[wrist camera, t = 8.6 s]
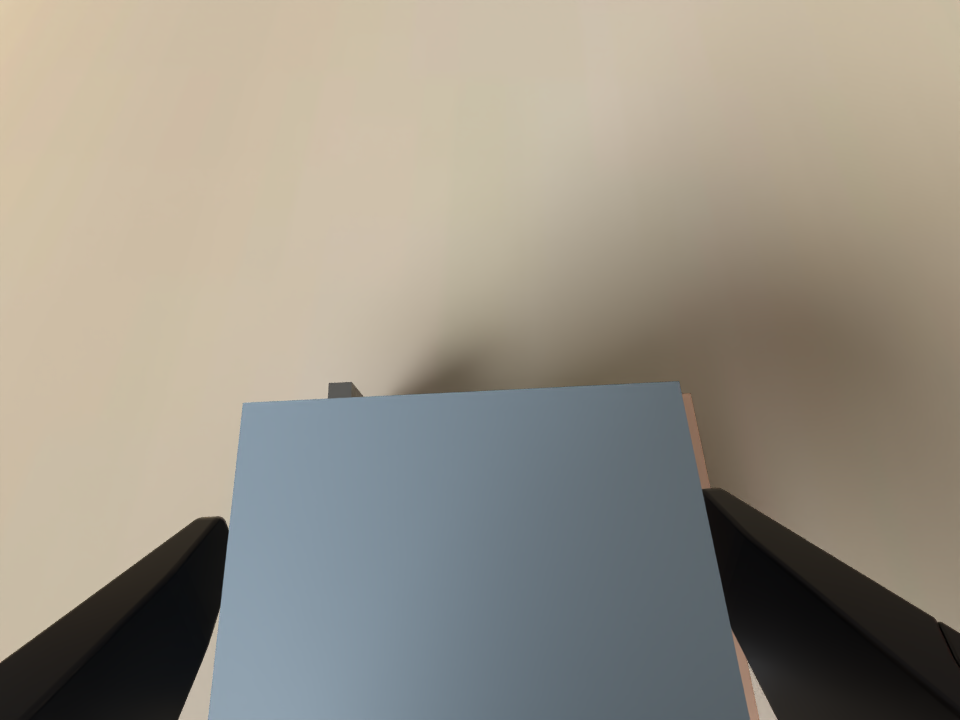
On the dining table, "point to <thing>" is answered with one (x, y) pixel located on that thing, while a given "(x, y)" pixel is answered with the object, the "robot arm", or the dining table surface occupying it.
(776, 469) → the dining table surface
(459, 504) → the blue-grey rectangular block
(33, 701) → the robot arm
